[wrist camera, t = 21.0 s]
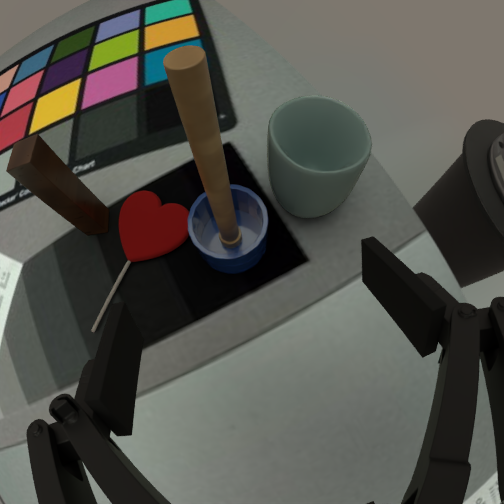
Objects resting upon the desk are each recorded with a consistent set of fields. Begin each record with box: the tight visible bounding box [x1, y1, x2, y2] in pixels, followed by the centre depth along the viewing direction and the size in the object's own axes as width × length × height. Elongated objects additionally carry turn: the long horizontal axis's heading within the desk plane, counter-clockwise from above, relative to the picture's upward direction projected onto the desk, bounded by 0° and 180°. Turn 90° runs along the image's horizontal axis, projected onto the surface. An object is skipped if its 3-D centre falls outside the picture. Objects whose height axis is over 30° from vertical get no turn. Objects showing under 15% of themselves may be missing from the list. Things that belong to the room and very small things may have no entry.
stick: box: [163, 46, 242, 248], centre depth 19 cm, size 2×2×20 cm
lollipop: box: [91, 191, 189, 332], centre depth 29 cm, size 8×1×15 cm
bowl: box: [187, 185, 268, 274], centre depth 27 cm, size 6×6×5 cm
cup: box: [267, 96, 372, 218], centre depth 26 cm, size 8×8×10 cm
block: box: [6, 134, 109, 235], centre depth 24 cm, size 3×3×14 cm
